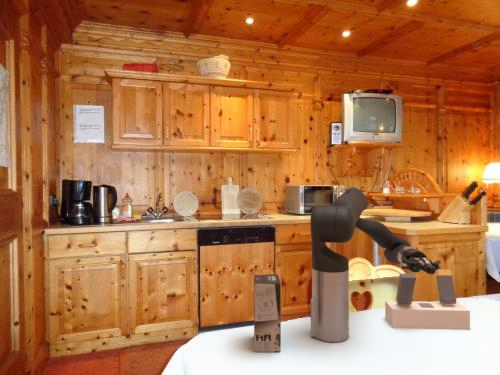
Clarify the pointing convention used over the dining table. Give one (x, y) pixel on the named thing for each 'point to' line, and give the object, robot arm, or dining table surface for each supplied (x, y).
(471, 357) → the dining table surface
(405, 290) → the lever left
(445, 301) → the lever right
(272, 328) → the coffee box
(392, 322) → the beige lever base
